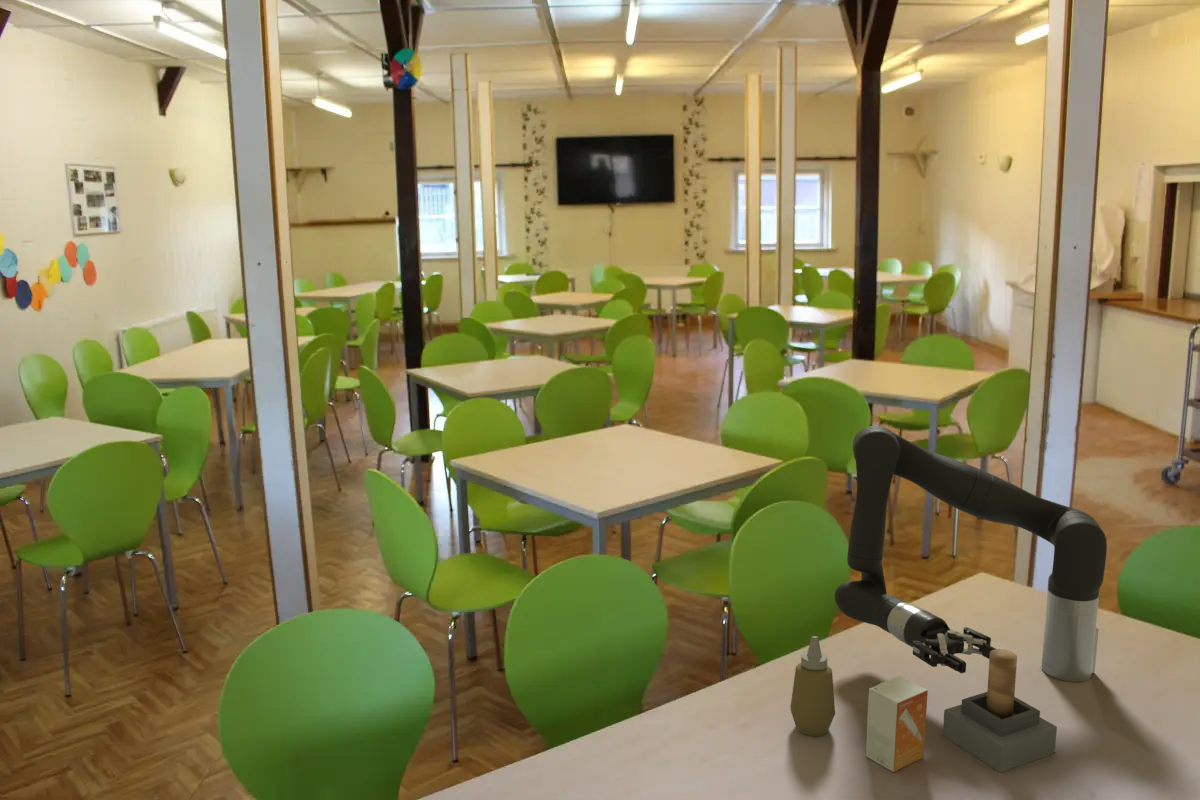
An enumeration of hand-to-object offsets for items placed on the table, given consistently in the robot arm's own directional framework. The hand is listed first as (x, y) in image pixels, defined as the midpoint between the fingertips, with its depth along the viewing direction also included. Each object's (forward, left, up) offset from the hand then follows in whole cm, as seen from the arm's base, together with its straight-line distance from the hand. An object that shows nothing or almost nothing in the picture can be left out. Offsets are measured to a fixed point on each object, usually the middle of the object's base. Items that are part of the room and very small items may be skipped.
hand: (982, 663), depth 171 cm
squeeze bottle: (+26, -14, -14) cm, 33 cm away
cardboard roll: (0, +5, -8) cm, 10 cm away
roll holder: (0, +5, -13) cm, 14 cm away
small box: (+19, 0, -14) cm, 23 cm away
